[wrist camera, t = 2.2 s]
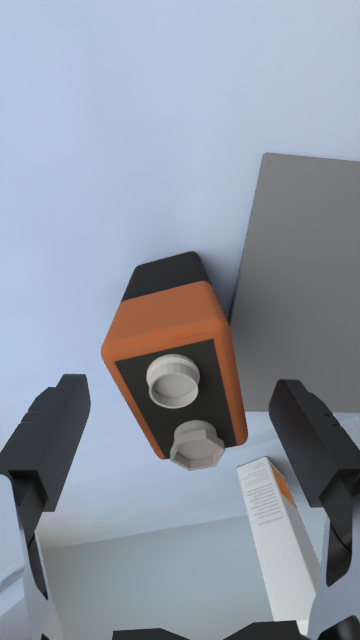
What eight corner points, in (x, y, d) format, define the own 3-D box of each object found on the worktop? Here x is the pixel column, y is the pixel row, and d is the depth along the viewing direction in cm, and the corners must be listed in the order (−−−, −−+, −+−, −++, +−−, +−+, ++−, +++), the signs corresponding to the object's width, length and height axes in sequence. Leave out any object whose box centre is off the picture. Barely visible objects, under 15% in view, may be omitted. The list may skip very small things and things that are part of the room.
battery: (162, 345, 18) (156, 487, 10) (132, 265, 15) (81, 372, 6) (215, 333, 18) (259, 469, 9) (197, 247, 14) (239, 335, 6)
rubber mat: (263, 154, 12) (266, 152, 12) (528, 179, 13) (540, 179, 13) (211, 406, 22) (212, 410, 22) (365, 408, 23) (369, 412, 23)
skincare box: (284, 475, 29) (348, 630, 19) (255, 485, 31) (299, 638, 20) (266, 454, 27) (328, 621, 16) (234, 466, 28) (273, 631, 18)
